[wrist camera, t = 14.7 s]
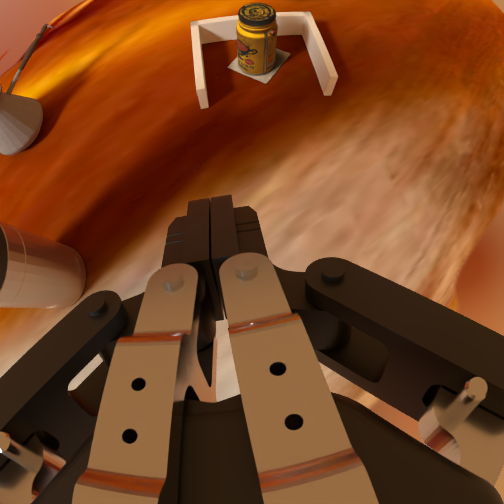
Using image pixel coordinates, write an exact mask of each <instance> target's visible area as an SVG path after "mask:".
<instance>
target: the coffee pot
mask: <svg viewBox="0 0 504 504" xmlns="http://www.w3.org/2000/svg"><path fill="white" fill-rule="evenodd" d="M47 27H51V26H49V25H48V24H45V25H44V26H43V28H42V29H41V31H40V33H39V34H37V35H36V39H35V40H34V42H33V43H32V44H31V46H30V47H29V48H28V50H27V52H26V54H25V56H24V58H23V60H22V62H21V64H20V66H19V68H18V71H17V73H16V75H15V77H14V78H13V80H12V82H11V84H10V86H9V88H8V90H7V92H6V93H3V92H2V86H1V84H0V153H1V154H4V155H13V154H17V153H19V152H21V151H22V150H24V149H26V148H27V147H28V146H30V145H31V144H32V143H33V141H34V140H35V139H36V137H37V135H38V133H39V131H40V128H41V124H42V121H43V111H42V106H41V104H40V103H39V101H37V100H35V99H33V98H28V97H23V96H18V95H13V94H11V92H12V90H13V88H14V86H15V84H16V82H17V80H18V77H19V75H20V73H21V71H22V70H23V68H24V67H25V65H26V63H27V62H28V60H29V58H30V57H31V55H32V54H33V52H34V51H35V49H36V46H37V44H38V42H39V40H40V39H41V38H42V37H43V33H44V32H45V31H46V29H47ZM51 28H53V27H51ZM53 29H55V28H53Z"/></svg>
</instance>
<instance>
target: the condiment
mask: <svg viewBox="0 0 504 504" xmlns="http://www.w3.org/2000/svg"><path fill="white" fill-rule="evenodd" d="M277 33H278V25H277V23H276V12H275V10H274V9H273V8H272V7H271V6H269V5H267V4H263V3H250V4H247V5H244V6H243V7H241V9H240V10H239V13H238V22H237V25H236V34H237V54H238V55H237V56H238V57H237V58H236V59H235V60H234V61H233V62H232V63H231V64H230V65H229V66H228V67H227V68H230V69H232V70H234V71H237V72H239V73H241V74H244V75H246V76H249V77H251V78H253V79H256V80H259V81H261V82H263V83H265V84H266V83H267V82H268V81H269V80H270V79H271V78H272V76H273V75H274V74H275V73H276V71H277V70H278V69H279V68H280V66H281V65H282V64H283V63H284V62H285V60H286V59H287V58H288V57H289V55H290V53H288V52H285V51H282V50H280V49H277V48H276V44H277Z"/></svg>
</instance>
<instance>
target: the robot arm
mask: <svg viewBox="0 0 504 504" xmlns="http://www.w3.org/2000/svg"><path fill="white" fill-rule="evenodd" d="M85 283H86V268H85V264H84V261H83V259H82V257H81V256H80V254H79V253H78V252H77V251H76V250H75V249H73V248H72V247H69V246H67V245H64V244H61V243H58V242H56V241H53V240H50V239H47V238H44V237H41V236H39V235H36V234H33V233H30V232H27V231H25V230H22V229H19V228H16V227H14V226H11V225H8V224H5V223H3V222H0V307H16V308H66V307H69V306H71V305H73V304H74V303H76V301H77V300H78V299H79V298H80V296H81V295H82V293H83V290H84V288H85ZM223 309H224V313H225V317H226V319H227V320H228V325H229V328H228V331H229V337H230V342H231V347H232V353H233V358H234V363H235V368H236V373H237V378H238V383H239V388H240V393H241V394H239V395H236V396H234V397H231V398H228V399H225V400H222V401H219V402H217V401H216V365H217V338H216V321H219V320H224V313H223ZM97 354H99V355H100V357H101V358H102V359H103V362H102V363H101V364H100V365H99V366H98V367H97V368H96V369H95V370H94V371H93V372H92V373H91V374H90V375H89V376H88V377H87V378H86V379H85V380H84V381H83V382H82V383H81V384H80V385H79V386H78V387H77V388H76V389H74V390H72V391H68V385H69V383H70V382H71V380H72V379H73V378H74V377H75V376H76V375H77V374H78V373H79V372H80V371H81V370H82V369H83V368H84V367H85V366H86V365H87V364H88V363H89V362H90V361H91V360H92V359H93V358H94V357H95V356H96V355H97ZM318 361H319V362H320V363H322V364H324V365H325V366H327V367H328V368H330V369H331V370H333V371H335V372H336V373H338V374H339V375H341V376H343V377H344V378H346V379H347V380H349V381H351V382H352V383H354V384H356V385H357V386H359V387H361V388H362V389H364V390H365V391H367V392H369V393H370V394H372V395H374V396H375V397H377V398H379V399H380V400H382V401H384V402H386V403H387V404H389V405H391V406H392V407H394V408H396V409H398V410H399V411H401V412H403V413H405V414H406V415H408V416H410V417H412V418H413V419H415V420H417V421H419V432H420V435H421V438H422V440H423V441H424V443H425V444H426V445H427V446H426V445H424V444H423V443H421V442H419V441H418V440H416V439H415V438H413V437H411V436H409V435H408V434H407V433H405V432H403V431H402V430H400V429H399V428H397V427H395V426H394V425H392V424H391V423H389V422H388V421H386V420H384V419H383V418H382V417H380V416H378V415H377V414H375V413H374V412H372V411H371V410H369V409H368V408H366V407H365V406H363V405H362V404H360V403H358V402H356V401H354V400H352V399H350V398H348V397H345V396H343V395H340V394H336V393H332V392H330V390H329V387H328V385H327V382H326V379H325V377H324V374H323V372H322V369H321V367H320V364H319V362H318ZM428 446H429V447H430V448H429V447H428ZM431 448H432V449H431ZM503 465H504V336H502V335H500V334H499V333H497V332H495V331H493V330H491V329H489V328H487V327H485V326H483V325H481V324H479V323H477V322H475V321H473V320H471V319H469V318H467V317H465V316H463V315H461V314H459V313H457V312H455V311H453V310H451V309H449V308H447V307H445V306H443V305H441V304H439V303H437V302H434V301H432V300H430V299H428V298H426V297H424V296H422V295H420V294H418V293H416V292H414V291H412V290H410V289H407V288H405V287H403V286H401V285H399V284H397V283H395V282H393V281H391V280H388V279H386V278H384V277H382V276H380V275H378V274H376V273H373V272H371V271H369V270H367V269H365V268H363V267H360V266H358V265H356V264H354V263H352V262H350V261H347V260H345V259H341V258H335V257H328V258H322V259H319V260H316V261H314V262H313V263H311V264H310V265H309V266H308V267H307V269H306V271H305V272H293V271H287V270H283V269H280V268H278V267H276V266H275V265H274V264H272V262H271V260H270V259H269V258H268V255H267V251H266V247H265V243H264V240H263V236H262V232H261V228H260V224H259V220H258V216H257V213H256V212H255V211H254V210H253V209H252V208H251V207H249V206H244V207H238V208H233V202H232V196H231V195H225V196H219V197H213V198H211V202H210V199H209V198H207V199H201V200H195V201H189V203H188V211H187V216H183V217H177V218H175V220H174V221H173V222H172V223H171V224H170V226H169V228H168V233H167V238H166V245H165V249H164V255H163V260H162V266H161V269H159V270H157V271H156V272H155V273H154V274H153V275H152V276H151V277H150V279H149V281H148V283H147V287H146V290H145V292H143V293H141V294H139V295H137V296H134V297H132V298H129V299H126V300H124V301H121V299H120V297H119V295H118V294H117V293H115V292H113V291H107V290H105V291H99V292H96V293H94V294H92V295H90V296H88V297H87V298H86V299H84V300H83V301H82V302H81V303H80V304H79V305H77V306H76V307H75V308H74V309H73V310H72V311H71V312H70V313H68V314H67V315H66V316H65V317H64V318H63V319H62V320H61V321H60V322H58V323H57V324H56V325H55V326H54V327H53V328H52V329H51V330H50V331H49V332H48V333H46V334H45V335H44V336H43V337H42V338H41V339H40V340H39V341H38V342H37V343H36V344H35V345H34V346H33V347H32V348H31V349H30V350H28V351H27V352H26V353H25V354H24V355H23V356H22V357H21V358H20V359H19V360H18V361H17V362H16V363H15V364H14V365H13V366H12V367H11V368H10V369H9V370H8V371H7V372H6V373H5V374H4V375H3V376H2V377H1V378H0V504H504V503H503V501H502V498H501V496H500V494H499V493H498V492H497V490H496V489H495V488H494V485H495V483H496V481H497V479H498V477H499V475H500V472H501V470H502V468H503Z"/></svg>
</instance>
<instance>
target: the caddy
mask: <svg viewBox="0 0 504 504" xmlns="http://www.w3.org/2000/svg"><path fill="white" fill-rule="evenodd" d="M237 22H238V15H237V16H228V17H220V18H213V19H206V20H200V21H194V22H191V34H192V46H193V58H194V70H195V81H196V90H197V95H198V99H199V103H200V107H201V109H204V108H209V105H208V96H207V88H206V79H205V71H204V62H203V53H202V44H205V43H211V42H218V41H226V40H234V39H237V34H236V25H237ZM276 23H277V25H278V33H277V36H281V35H302V37H303V39H304V42H305V44H306V47H307V50H308V52H309V55H310V58H311V60H312V63H313V66H314V68H315V71H316V74H317V77H318V80H319V82H320V85H321V88H322V91H323V94H324V96H330V95H331V94H332V92H333V89H334V87H335V84H336V81H337V78H338V75H337V72H336V70H335V67H334V65H333V63H332V60H331V58H330V55H329V53H328V51H327V48H326V46H325V44H324V41H323V39H322V37H321V34H320V32H319V30H318V28H317V26H316V24H315V21H314V19H313V17H312V15H311V13H310V12H278V13H276Z"/></svg>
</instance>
